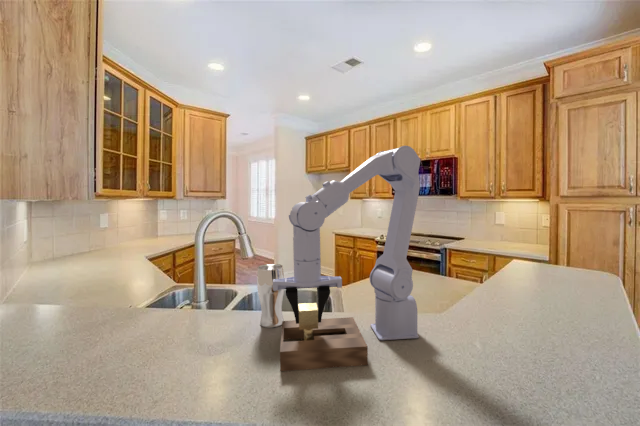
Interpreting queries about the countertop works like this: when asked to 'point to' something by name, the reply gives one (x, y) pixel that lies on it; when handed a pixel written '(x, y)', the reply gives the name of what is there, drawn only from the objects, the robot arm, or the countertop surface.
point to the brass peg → (308, 319)
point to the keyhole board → (323, 345)
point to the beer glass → (270, 295)
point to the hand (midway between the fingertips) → (308, 321)
